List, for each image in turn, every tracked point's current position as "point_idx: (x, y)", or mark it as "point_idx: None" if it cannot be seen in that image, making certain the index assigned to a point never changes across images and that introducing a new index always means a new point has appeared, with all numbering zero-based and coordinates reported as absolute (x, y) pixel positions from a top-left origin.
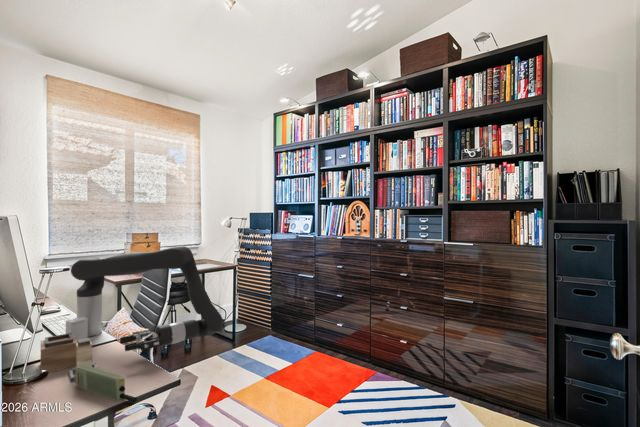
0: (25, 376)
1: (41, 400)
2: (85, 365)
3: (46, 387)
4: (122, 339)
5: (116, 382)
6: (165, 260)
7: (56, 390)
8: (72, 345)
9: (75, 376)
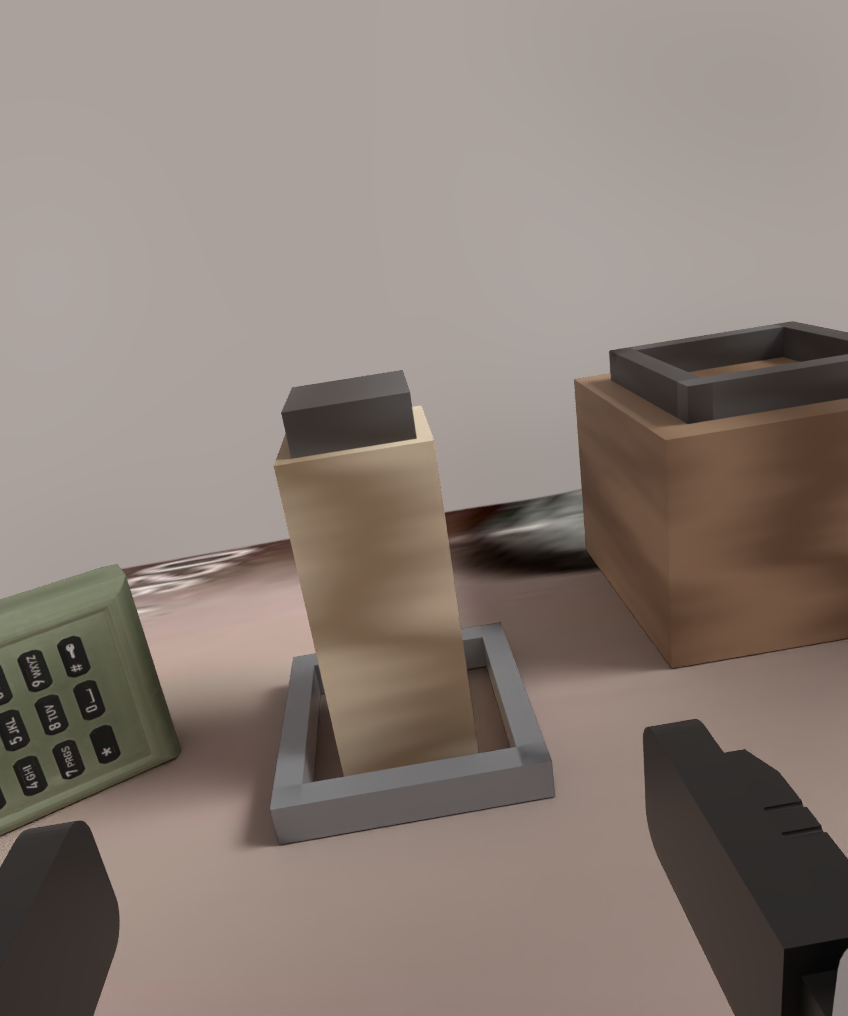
0: (580, 517)
1: (142, 623)
2: (45, 599)
3: None
4: (659, 780)
5: None
6: None
7: (220, 648)
8: (647, 448)
9: (299, 674)
